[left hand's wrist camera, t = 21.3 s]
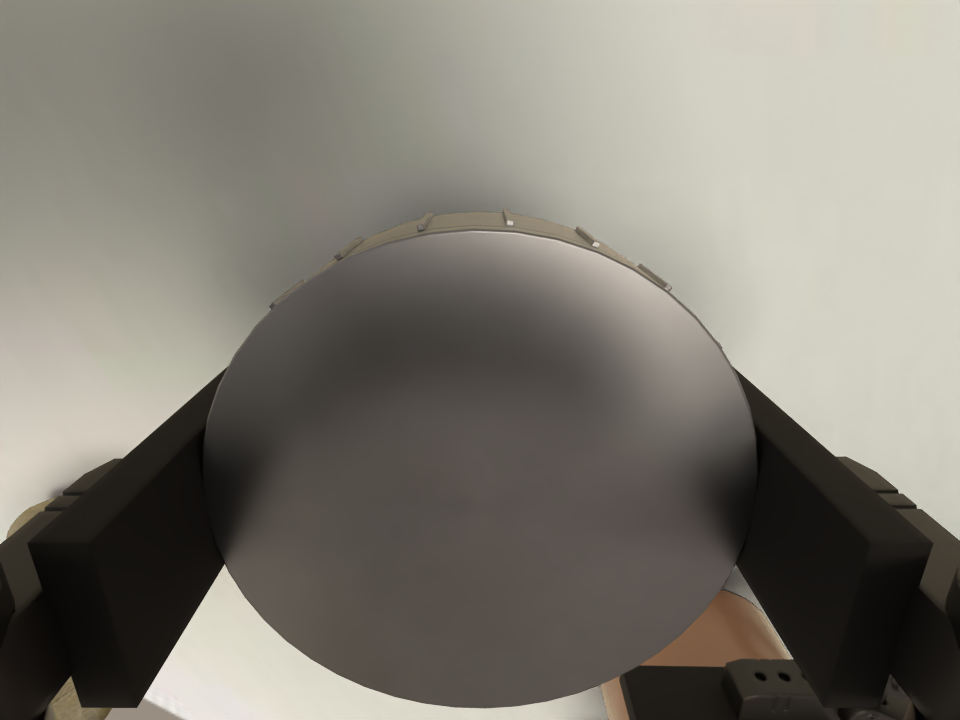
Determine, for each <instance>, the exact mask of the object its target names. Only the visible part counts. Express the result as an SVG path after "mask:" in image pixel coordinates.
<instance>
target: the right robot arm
mask: <svg viewBox="0 0 960 720" xmlns="http://www.w3.org/2000/svg"><path fill="white" fill-rule="evenodd" d="M619 682H620V685H621V689H622V693H623V697H624V701H625V705H626V708H627V712H628V716H629V720H903V719H904V716H905V713H906V710H907V707H908V705H909V702H910V699H909V697H908V696H907V695H906V693H905V692H904V691H903V690H902V688H901V687H900V686H899V684H898V683H897V682H896V681H895V679H894V678H893V677H892V675H891V674H890V676H889V679H888V682H887V685H886V688H885V691H884V694H883V697H882V700H881V703H880V706H879V708H823V706H822V705H821V703H820V701H819V700H818V698H817V696H816V695H815V693H814V691H813V690H812V688H811V687H810V685H809V683H808V682H807V680H806V678H805V677H804V675H803V673H802V672H801V670H800V668H799V667H798V665H797V664H796V662H795V660H793V659H771V660H769V659H760V660H757V659H738V660H734V661H731V662H727V663H726V665H725V667H706V666H647V665H639V666H637V667H636V668H634V669H632V670H630V671H628V672H626V673H624V674H622V675H620V678H619Z"/></svg>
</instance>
